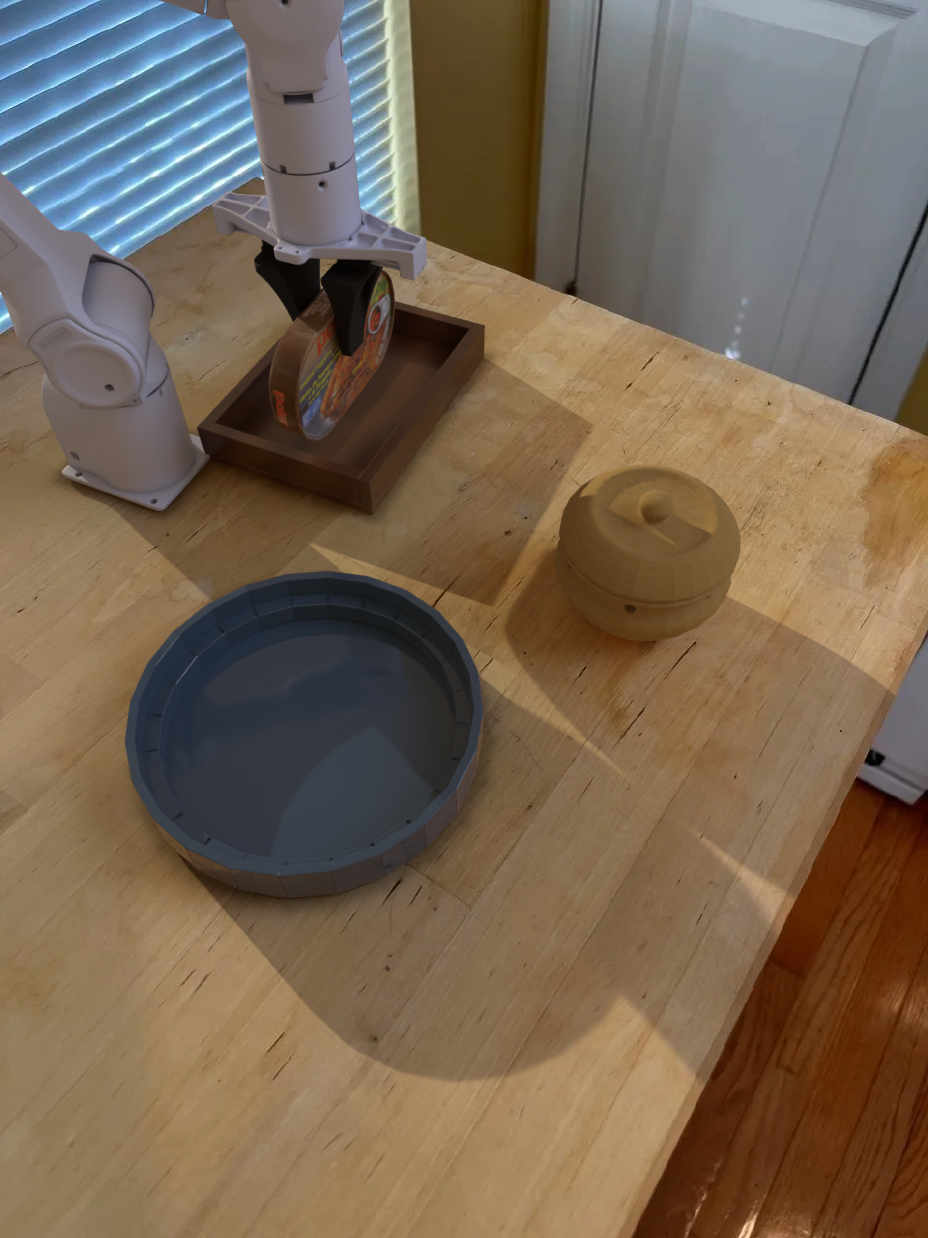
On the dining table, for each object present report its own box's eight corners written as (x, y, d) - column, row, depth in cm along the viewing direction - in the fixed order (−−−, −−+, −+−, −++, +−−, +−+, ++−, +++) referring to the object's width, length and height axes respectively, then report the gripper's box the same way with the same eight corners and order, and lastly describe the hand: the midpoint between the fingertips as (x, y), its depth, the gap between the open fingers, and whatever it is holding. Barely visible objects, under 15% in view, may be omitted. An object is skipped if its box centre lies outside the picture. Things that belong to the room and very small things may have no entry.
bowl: (69, 812, 56) (49, 785, 53) (259, 566, 68) (250, 533, 65) (385, 961, 51) (381, 939, 48) (532, 666, 62) (535, 635, 60)
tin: (307, 464, 67) (298, 370, 60) (268, 450, 67) (255, 355, 60) (398, 344, 75) (400, 249, 68) (363, 332, 76) (361, 236, 69)
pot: (730, 556, 68) (765, 453, 60) (705, 685, 61) (741, 589, 54) (572, 521, 70) (586, 417, 63) (532, 641, 64) (541, 542, 56)
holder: (205, 458, 75) (196, 426, 72) (335, 315, 86) (330, 283, 84) (373, 515, 71) (369, 483, 68) (484, 357, 82) (485, 324, 80)
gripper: (167, 158, 56) (215, 349, 67) (387, 208, 52) (400, 401, 63) (230, 108, 60) (266, 296, 71) (438, 151, 56) (442, 342, 67)
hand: (332, 342), depth 67 cm, fingers closed on tin, 2 cm apart
